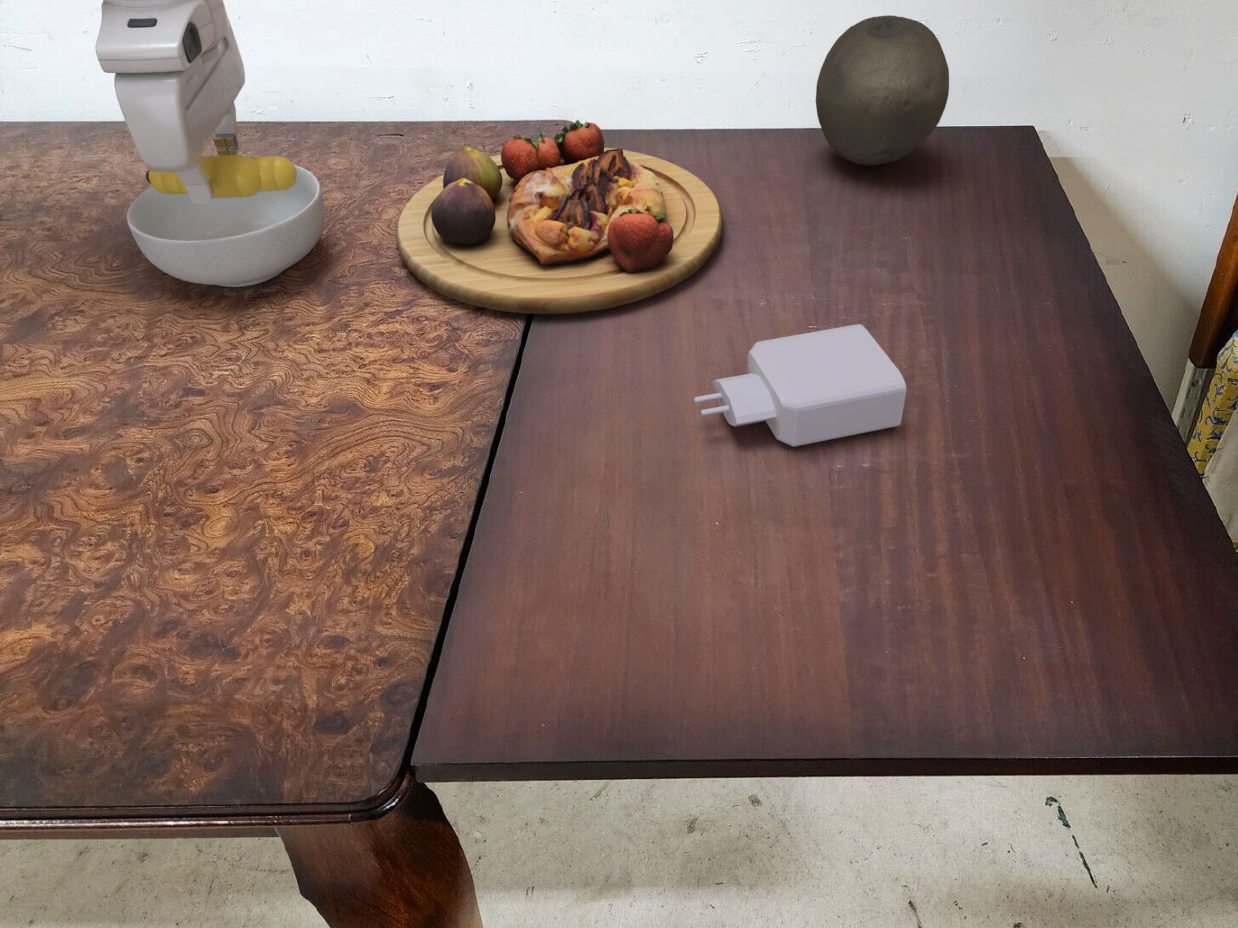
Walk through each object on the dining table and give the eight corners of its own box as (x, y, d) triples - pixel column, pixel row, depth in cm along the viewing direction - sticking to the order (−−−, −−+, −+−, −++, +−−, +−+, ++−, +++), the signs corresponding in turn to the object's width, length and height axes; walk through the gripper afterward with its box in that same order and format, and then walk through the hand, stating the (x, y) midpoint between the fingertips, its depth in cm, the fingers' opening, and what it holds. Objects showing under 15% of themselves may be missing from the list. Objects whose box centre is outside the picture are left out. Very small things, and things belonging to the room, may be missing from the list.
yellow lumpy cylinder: (140, 206, 97) (128, 166, 94) (156, 189, 100) (144, 150, 98) (293, 201, 97) (284, 161, 95) (303, 184, 101) (294, 145, 98)
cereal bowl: (317, 211, 111) (301, 144, 107) (354, 287, 100) (337, 216, 95) (142, 246, 106) (117, 177, 101) (161, 330, 95) (133, 257, 90)
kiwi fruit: (785, 171, 118) (795, 27, 108) (845, 127, 127) (859, -11, 116) (905, 204, 112) (927, 55, 102) (958, 155, 121) (983, 13, 111)
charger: (680, 398, 87) (852, 367, 90) (716, 468, 81) (900, 431, 84) (680, 349, 84) (858, 318, 87) (717, 417, 78) (908, 381, 81)
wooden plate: (781, 273, 102) (787, 190, 96) (453, 356, 92) (438, 268, 86) (643, 144, 123) (641, 70, 118) (364, 200, 113) (347, 122, 108)
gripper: (164, -25, 95) (210, 129, 105) (86, 59, 80) (148, 230, 90) (237, -27, 96) (277, 127, 105) (173, 57, 81) (226, 228, 90)
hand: (217, 176), depth 97 cm, fingers open, 8 cm apart
